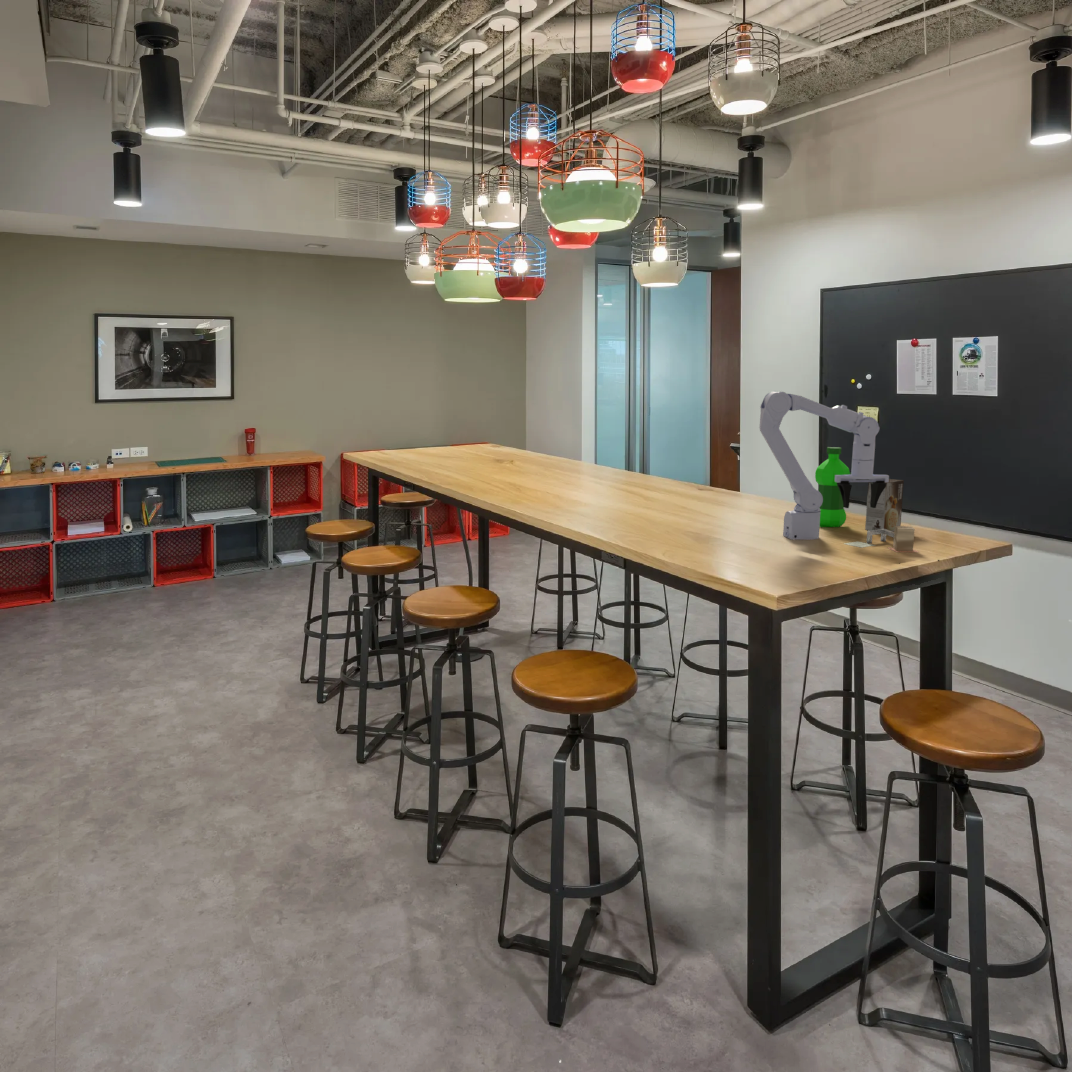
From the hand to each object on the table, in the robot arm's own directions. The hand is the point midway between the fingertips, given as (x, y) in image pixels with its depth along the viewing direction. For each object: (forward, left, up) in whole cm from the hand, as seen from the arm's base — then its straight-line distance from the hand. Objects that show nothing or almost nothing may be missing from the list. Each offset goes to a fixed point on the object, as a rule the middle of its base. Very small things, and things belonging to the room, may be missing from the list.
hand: (859, 507), depth 231 cm
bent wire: (+2, -9, -9) cm, 13 cm away
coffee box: (+14, +12, -10) cm, 21 cm away
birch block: (+4, -17, -9) cm, 20 cm away
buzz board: (0, -11, -10) cm, 15 cm away
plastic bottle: (+2, +22, -10) cm, 24 cm away
